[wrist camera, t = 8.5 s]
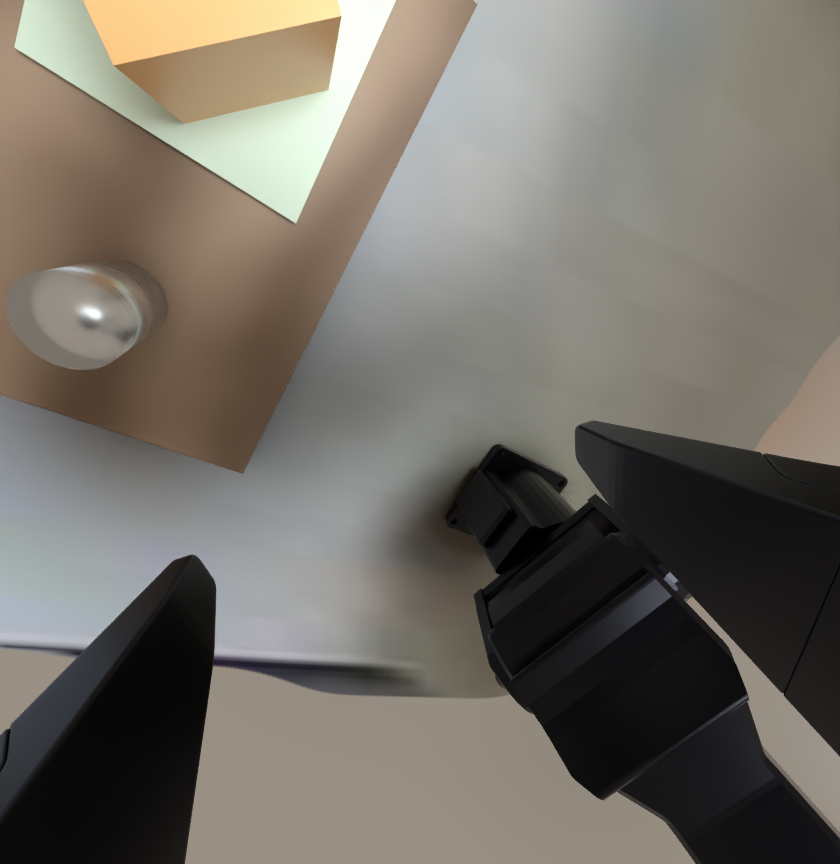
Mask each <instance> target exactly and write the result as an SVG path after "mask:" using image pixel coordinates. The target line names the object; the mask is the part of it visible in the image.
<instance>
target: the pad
mask: <svg viewBox="0 0 840 864" xmlns="http://www.w3.org/2000/svg"><path fill="white" fill-rule="evenodd" d="M395 2H396V0H338V3H339V7H340V11H341V15H342V17H341V23H340V28H339V34H338V40H337V45H336V51H335V57H334V62H333V68H332V73H331V79H330V85H329V90H326V91H322V92H317V93H313V94H309V95H305V96H300V97H296V98H292V99H288V100H283V101H279V102H275V103H271V104H267V105H262V106H258V107H254V108H250V109H245V110H241V111H237V112H233V113H229V114H224V115H220V116H216V117H212V118H207V119H203V120H199V121H195V122H190V123H186V124H184V123H182V122H181V121H180V120H179V119H178V118H176V117H175V116H174V115H173V114H172V113H170V112H169V111H168V110H167V109H166V108H164V107H163V106H162V105H161V104H159V103H158V102H157V101H156V100H155V99H153V98H152V97H151V96H150V95H149V94H147V93H146V92H145V91H144V90H143V89H141V88H140V87H139V86H138V85H137V84H135V83H134V82H133V81H132V80H131V79H129V78H128V77H127V76H126V75H125V74H123V73H122V72H121V71H120V70H118V69H117V68H116V67H115V66H114V65H113V63H112V61H111V59H110V57H109V55H108V52H107V50H106V48H105V46H104V44H103V42H102V40H101V38H100V35H99V33H98V31H97V29H96V27H95V25H94V23H93V21H92V18H91V16H90V14H89V12H88V10H87V8H86V6H85V3H84V1H83V0H25V1H24V5H23V10H22V15H21V19H20V24H19V28H18V33H17V37H16V42H15V46H14V48H16V49H18V50H19V51H21V52H22V53H24V54H26V55H27V56H29V57H30V58H32V59H34V60H35V61H37V62H38V63H40V64H42V65H43V66H45V67H46V68H48V69H50V70H51V71H53V72H54V73H56V74H58V75H59V76H61V77H62V78H64V79H66V80H67V81H69V82H70V83H72V84H74V85H75V86H77V87H78V88H80V89H82V90H83V91H85V92H86V93H88V94H90V95H91V96H93V97H94V98H96V99H98V100H99V101H101V102H102V103H104V104H106V105H107V106H109V107H110V108H112V109H114V110H115V111H117V112H118V113H120V114H122V115H123V116H125V117H126V118H128V119H130V120H131V121H133V122H134V123H136V124H138V125H139V126H141V127H142V128H144V129H146V130H147V131H149V132H150V133H152V134H154V135H155V136H157V137H158V138H160V139H162V140H163V141H165V142H166V143H168V144H170V145H171V146H173V147H174V148H176V149H178V150H179V151H181V152H182V153H184V154H186V155H187V156H189V157H190V158H192V159H194V160H195V161H197V162H198V163H200V164H202V165H203V166H205V167H206V168H208V169H209V170H211V171H213V172H214V173H216V174H217V175H219V176H221V177H222V178H224V179H225V180H227V181H229V182H230V183H232V184H233V185H235V186H237V187H238V188H240V189H241V190H243V191H245V192H246V193H248V194H249V195H251V196H253V197H254V198H256V199H257V200H259V201H261V202H262V203H264V204H265V205H267V206H269V207H270V208H272V209H273V210H275V211H277V212H278V213H280V214H281V215H283V216H285V217H286V218H288V219H289V220H291V221H293V222H294V223H296V222H297V220H298V218H299V216H300V214H301V211H302V209H303V207H304V205H305V202H306V200H307V198H308V196H309V193H310V191H311V189H312V187H313V185H314V182H315V180H316V178H317V176H318V173H319V171H320V169H321V167H322V164H323V162H324V160H325V158H326V156H327V153H328V151H329V149H330V147H331V144H332V142H333V140H334V138H335V136H336V133H337V131H338V129H339V127H340V124H341V122H342V120H343V118H344V115H345V113H346V111H347V109H348V107H349V104H350V102H351V100H352V98H353V95H354V93H355V91H356V89H357V86H358V84H359V82H360V80H361V78H362V75H363V73H364V71H365V69H366V66H367V64H368V62H369V60H370V58H371V55H372V53H373V51H374V49H375V46H376V44H377V42H378V40H379V37H380V35H381V33H382V31H383V29H384V26H385V24H386V22H387V20H388V17H389V15H390V13H391V11H392V8H393V6H394V4H395Z"/></svg>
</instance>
